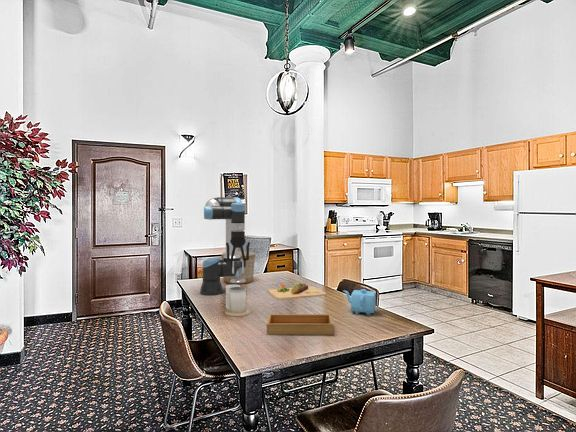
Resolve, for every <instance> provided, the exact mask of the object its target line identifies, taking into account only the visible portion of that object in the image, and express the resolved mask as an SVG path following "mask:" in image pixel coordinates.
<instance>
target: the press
mask: <svg viewBox="0 0 576 432" xmlns="http://www.w3.org/2000/svg"><path fill="white" fill-rule="evenodd" d="M229 291H230V293H226V292H225V309H226V310H225V311H224V314H225V315H226V316H228V317H229V316H230V317H244V316H248V315H250V314H251V310H250V309H249V308H247V287H244V286H240V287H232V288H229Z"/></svg>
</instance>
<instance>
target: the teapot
mask: <svg viewBox="0 0 576 432" xmlns="http://www.w3.org/2000/svg"><path fill="white" fill-rule="evenodd" d="M343 292H344V293H345V294H346V298H347V301H348V302H349V304H350V311H351V312H354V314H355V315H359V314H360V313H365V315H367V316H372V314H375V311H376V301H377V299H376V296H377V293H376V291H372V290H371V291H369V290H367V289H365V288H363V289H362V288H361V289H360V290H359V289H354V290H353V291H352V292H351V294H350V292H349V291H347V290H343Z"/></svg>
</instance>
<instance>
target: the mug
mask: <svg viewBox="0 0 576 432" xmlns="http://www.w3.org/2000/svg"><path fill="white" fill-rule="evenodd" d="M232 287H241V284H228V285H225V294H226V293H230V291H229V288H232Z"/></svg>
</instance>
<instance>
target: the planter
mask: <svg viewBox="0 0 576 432" xmlns="http://www.w3.org/2000/svg"><path fill="white" fill-rule="evenodd" d="M225 255H226V251H225V252H222V253H221V255H220V256H221V260H223V257H224V256H225ZM238 255H239V256H240V257H241V259H242V260H243V258H242V254H241V250H238ZM244 255H245V258H246V251H244ZM255 259H256V253H255V252H252V251H249V260H246V266H245V267H244V273H242V272H241V275H240V276H239V278H240V279H245V282H243V283H231V282H230V280H231V279H237V276H235V277H233V276H232V277H222V279H223V281H224V282H225V283H226V284H228V285H242V284H243V285H245V284H249V283H250V284H251V282H253V280H254V273H255V272H254V271H255V261H256V260H255Z"/></svg>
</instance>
